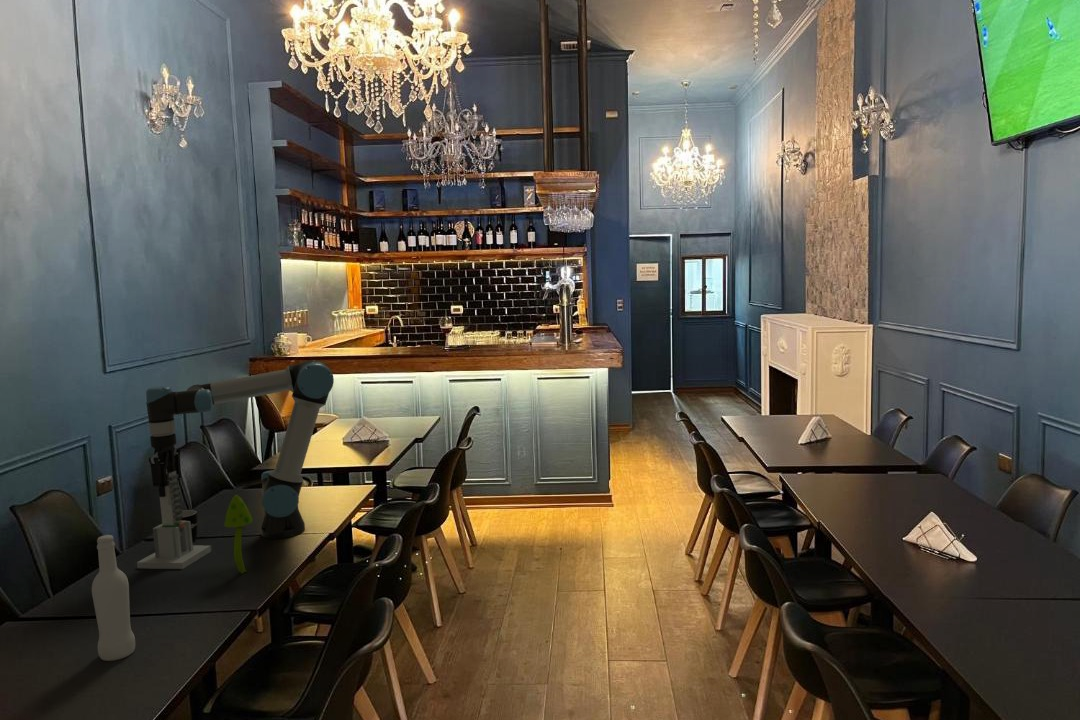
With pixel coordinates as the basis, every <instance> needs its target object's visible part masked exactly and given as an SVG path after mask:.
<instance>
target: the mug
mask: <svg viewBox="0 0 1080 720" xmlns="http://www.w3.org/2000/svg"><path fill="white" fill-rule="evenodd" d="M180 516H182V518H183V519H181V521H190V523H191V533H192V543H193V542H195V541H196V539H197V537H198V536H197V535H198V513H197V510H194V509H186V510H182V513H180Z"/></svg>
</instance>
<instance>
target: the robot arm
mask: <svg viewBox="0 0 1080 720" xmlns="http://www.w3.org/2000/svg"><path fill="white" fill-rule="evenodd" d="M334 380H335V379H334V374H333V371H332V370H331V368H330V367H328V365H327V364H326V363H324V362H323V361H321V360H317V359H310V360H307V361H302V362H300V363H297V364H292V365H287V366H286V367H285V369H280V370H274V371H269V372H263V373H259V374H253V375H248V376H243V377H242V376H241V377H236V378H232V379H225V380H219V381H215V382H210V383H205V384H194V385H190V387H188V388H187V389H186V390H184V391H183V390H182V391H173V390H172V388H171V386H169V385H166V386H165V385H164V386H163V385H161V386H153V387H150V388H148V389H147V390H146V391H145V397H146V399H145V400H146V402H145V403H146V409H147V417H148V424H149V425H148V426H149V434H150V437H149V439H150V446H151V448H153V449H154V452H153V456H152V457H149V458H148V462H149V465H150V471H151V478H152V479H151V481H152V486H153V487H155V488H158V495H159V503H160V502H161V506H170V502H169V492H168V486H166V471H176V474H178V478H177V480H179V482H181V478H182V468H181V448H176V447H175V445H176V444H177V434H176V433H175V432H176V424H175V416H176V415H187V414H203V413H207V412H212V410H213V409H214V407H213V405H216V404H222V403H228V402H233V401H239V400H243V399H244V400H245V399H249V398H255V397H261V396H265V395H266V396H267V395H271V394H276V393H281V392H282V393H283V392H287V391H290V392H292V394H291V397H292V399H293V401H294V404H293V406H292V411H291V412H290V413H291V415H290V417H289V421H288V424H287V428H286V431H285V433H284V438H283V442H282V444H281V448H280V452H279V454H278V457H277V461H276V465H275V468H274V469H272V470H266V471H264V472H262V473H261V479H260V481H261V485H262V486H261V487H262V496H261V505H262V508H263V509H264V510H263V511H264V515H263V518H262V523H261V526H260V527H261V528H260V535H261V537H262V538H264V539H273V540H275V539H276V540H277V539H285V538H290V537H294V536H298V535H300V534H302V533H304V532H305V530H306V525H305V521H304V519H303V516H302V514H301V512H300V510H299V503H300V501H299V499H300V492H301V489H302V485H303V483H304V479H303V476H302V474H301V473H302V470H303V467H304V465H305V464H304V463H305V460H306V457H307V452H308V451H309V450H308V449H309V446H310V442H311V439H312V436H313V433H314V430H315V426H316V423H317V419H318V415H319V414H320V413H319V412H320V409H321V408H322V407H324V406H326V404H327V400H328V398H329V394H330V392H331V390H332V389H333V387H334ZM161 506H160V507H161Z"/></svg>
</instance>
